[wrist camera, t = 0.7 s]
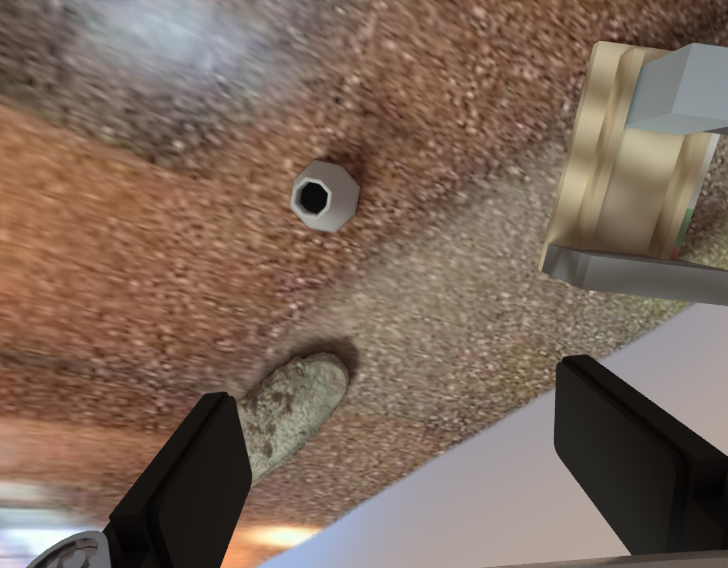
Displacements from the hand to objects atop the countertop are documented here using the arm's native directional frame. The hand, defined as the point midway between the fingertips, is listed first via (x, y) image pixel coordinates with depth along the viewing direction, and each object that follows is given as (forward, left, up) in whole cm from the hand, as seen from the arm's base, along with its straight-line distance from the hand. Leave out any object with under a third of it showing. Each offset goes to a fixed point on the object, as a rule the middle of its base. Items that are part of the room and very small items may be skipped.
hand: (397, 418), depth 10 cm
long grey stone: (+26, -13, -29) cm, 41 cm away
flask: (-5, -6, -29) cm, 30 cm away
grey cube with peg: (-18, +27, -28) cm, 43 cm away
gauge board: (-11, +25, -29) cm, 40 cm away
